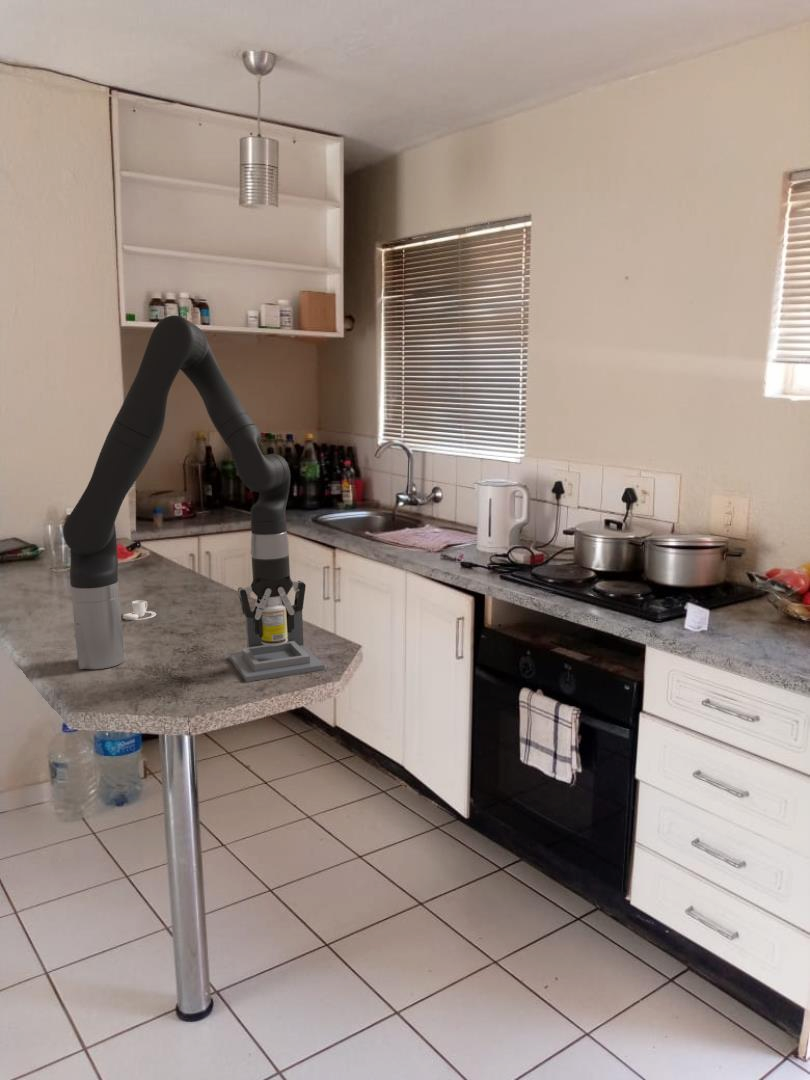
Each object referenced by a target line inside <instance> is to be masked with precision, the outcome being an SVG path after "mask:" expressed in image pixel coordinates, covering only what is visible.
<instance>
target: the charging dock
mask: <svg viewBox="0 0 810 1080" xmlns="http://www.w3.org/2000/svg"><path fill="white" fill-rule="evenodd" d="M303 620H304V619H303V610H302V611H298V612H296V613H295V614H294V629H293V630H292V632H291V633H288V641H287V642H286V643H285V644H283V645H280V646H266V645H264V644H262V642H261V637H258V636H257V635H256V634H255V633H254V631H253V618H247V617H246V616H245V629H246V647H242V648H241V651H237V652H230V653H228V659H229V660H230V661H231V663H232V664H233V665H234V667H235V668H236V670H237V671H238V673H239V674H240V676H241V677H242V678H243V679H244V681H245V682H246V683H249V682H254V681H261V680H267V679H274V678H275V679H276V678H280V677H287V676H293V675H298V674H300V675H301V674H305V673H312V672H318V671H325V664H324V663H323V662H322V661H321V660H320V659H319V658H318V657H317V656H315V654H314V653H312V651H310V650H309V649H308V648H307V646H305V644H304V627H303V624H304V623H303Z"/></svg>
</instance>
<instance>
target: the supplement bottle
mask: <svg viewBox="0 0 810 1080" xmlns="http://www.w3.org/2000/svg"><path fill="white" fill-rule="evenodd" d="M260 619H261V620H262V637H261V642H262V644H264V645H266V646H280V645H283V644H285V643H286V642H287V641H288V629H287V609H286V606H285V605H284V604H283V603H282V600H281V597H280V596H273V597H269V598H268V601H267V603H266V606H265V609H264V610H263V612H262V615H261V617H260Z"/></svg>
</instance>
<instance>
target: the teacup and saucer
mask: <svg viewBox="0 0 810 1080" xmlns="http://www.w3.org/2000/svg"><path fill="white" fill-rule="evenodd" d="M131 603H132V604H131V606H132V612H129V613H124V614H123V615H122V618H123V619H124V620H126V621H141V620H142V621H143V620H149V619H151V618H153V617H155V616H156V615H157V613H156V612H154V611H150V610H149V611H148V610H147V609H148V604H149V603H148V602H147V601H146V600H143V599H139V600H137V599H136V600H134V601H132V602H131ZM132 613H134V614H132ZM150 613H151V615H150V616H147V617H144V616H145V614H150ZM140 617H144V618H140Z"/></svg>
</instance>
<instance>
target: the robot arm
mask: <svg viewBox="0 0 810 1080" xmlns="http://www.w3.org/2000/svg"><path fill="white" fill-rule="evenodd" d="M180 371H181V372H182V373H183V374H184V376H186V378H188V380H189V381H190V382H191V383H192V384H193V386H194V387H195V389H196V390H197V392H198V393H199V396H200V398H201V400H202V401H203V404H204V407H205V409H206V412H207V414H208V417H209V418H210V420H211V422H212V424H213V426H214V427H215V429H216V431H217V432H218V434H219V435H220V437H221V439H222V440H223V442H224V443H225V445H226V446H227V447H228V450H229V451H230V454H231V458H232V462H233V463H234V466H235V469H236V472H237V475H238V477H239V478H240V481H242V483H243V485H245V487H247V488H248V490H251V491H252V492H255V493H259V495H258V500H257V501H256V502H255V503H254V504H253V505H252V507H251V508H250V528H251V529H250V530H251V537H250V556H251V571H252V581H251V584H250V586H246V587H238V589H237V594H238V597H239V602H240V605H241V609H242V614H243V615H244V616H245V618H246V617H247V618H253V631H254V633H255V634H256V635H257V636H258V637H262V620H261V619H260V617H261V615H262V612H263V610H264V609H265V606H266V603H267V601H268V598H269V597H273V596H280V597H281V600H282V603H283V604H284V605H285V606H286V609H287V629H288V633H291V632H292V630H293V629H294V614H295V613H296V612H298V611H302V612H303V609H304V601H305V595H306V583H304V581H302V580H298V581H292V579H291V569H290V567H291V566H290V551H289V550H290V549H289V539H288V537H289V536H288V532H287V515H286V509H287V508H286V507H287V504H288V500H289V494H290V487H291V469H290V467H289V464H288V462H287V461H286V459H285V458H284V457H283V456H281V455H280V454H277V453H276V454H275V453H270V454H264V455H263V453H262V451H261V449H260V447H259V444H260V442H261V440H262V434H261V432H260V430H259V428H258V426H257V425H256V423H255V422H254V420H253V419H252V417H251V415H250V414H249V412H248V411H247V409H246V408H245V406H244V405H243V404H242V402H241V400H240V399H239V398H238V396H237V394H236V393H235V391H234V390H233V389H232V387H231V386H230V384H229V383H228V381H227V379H226V377H225V376H224V373H223V372H222V370H221V368H220V366H219V364H218V362H217V359H216V357H215V355H214V353H213V350H212V348H211V345H210V343H209V341H208V339H207V337H206V335H205V333H204V331H203V330H202V329H201V328H199V327H198V326H197V325H196V324H195V323H192V322H191V321H190V320H188V319H186V317H183V316H180V315H168V316H166V317H164V318H162V319H161V320H160V321H159V322H158V323H157V324H156V325H155V326H154V329H153V330H152V332H151V334H150V337H149V340H148V342H147V345H146V348H145V351H144V354H143V356H142V360H141V363H140V365H139V369H138V371H137V373H136V375H135V377H134V380H133V382H132V384H131V385H130V387H129V390H128V392H127V394H126V396H125V399H124V400H123V403H122V405H121V407H120V409H119V411H118V413H117V414H116V417H115V418H114V420H113V423H112V424H111V427H110V429H109V431H108V432H107V435H106V438H105V440H104V443H103V444H102V447H101V449H100V453H99V455H98V458H97V460H96V462H95V466H94V468H93V469H94V470H93V472H92V474H91V476H90V477H91V478H90V480H89V482H88V483H87V486H86V488H85V490H84V491H83V493H82V495H81V496H80V498H79V500H78V502H77V503H76V504H75V506H74V508H73V510H72V511H71V513H70V514H69V515H68V517H67V518H66V520H65V521H64V524H63V529H62V532H63V533H62V534H63V539H64V540H65V541H64V542H65V543H66V545H67V547H68V548H69V549H70V550H69V551H70V569H69V570H70V571H69V581H70V591H71V592H70V593H71V600H72V610H73V611H72V612H73V626H74V627H73V628H74V637H75V646H76V647H75V649H76V657H77V659H76V660H77V665H78V670H101V669H107V668H108V669H109V668H113V667H116V666H119V665H120V664H122V663H124V662H125V659H126V657H125V646H124V635H123V626H122V613H121V599H120V588H119V578H118V577H119V575H118V573H119V572H118V569H119V567H118V566H119V563H118V562H119V559H118V546H117V532H116V529H117V528H116V525H115V523H116V519H117V517H118V515H119V512H120V510H121V507H122V504H123V502H124V499H125V498H126V497H127V495H128V493H129V491H130V490H131V488H133V485H134V484H135V482H137V479H139V476H140V475H141V473H142V472H143V470H144V469H145V467H146V466H147V464H148V462H149V460H150V458H151V456H152V454H153V452H154V450H155V448H156V447H157V444H158V442H159V440H160V437H161V435H162V432H163V428H164V425H165V419H166V410H167V403H168V396H169V393H170V390H171V387H172V386H173V383H174V381H175V379H176V377H177V375H178V373H179V372H180ZM292 588H293V589H292ZM291 589H292V590H293V591H294V593H295V595H294V602H293V603H294V604H293V605H292V602H291V601H290V599H289V597H288V594H289V593H290V591H291ZM252 592H253V593H254V595H255V596H256V600H255V602H254V607H253V610H251V606H250V605H251V604H250V602H249V599H250V598H251V593H252Z"/></svg>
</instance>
